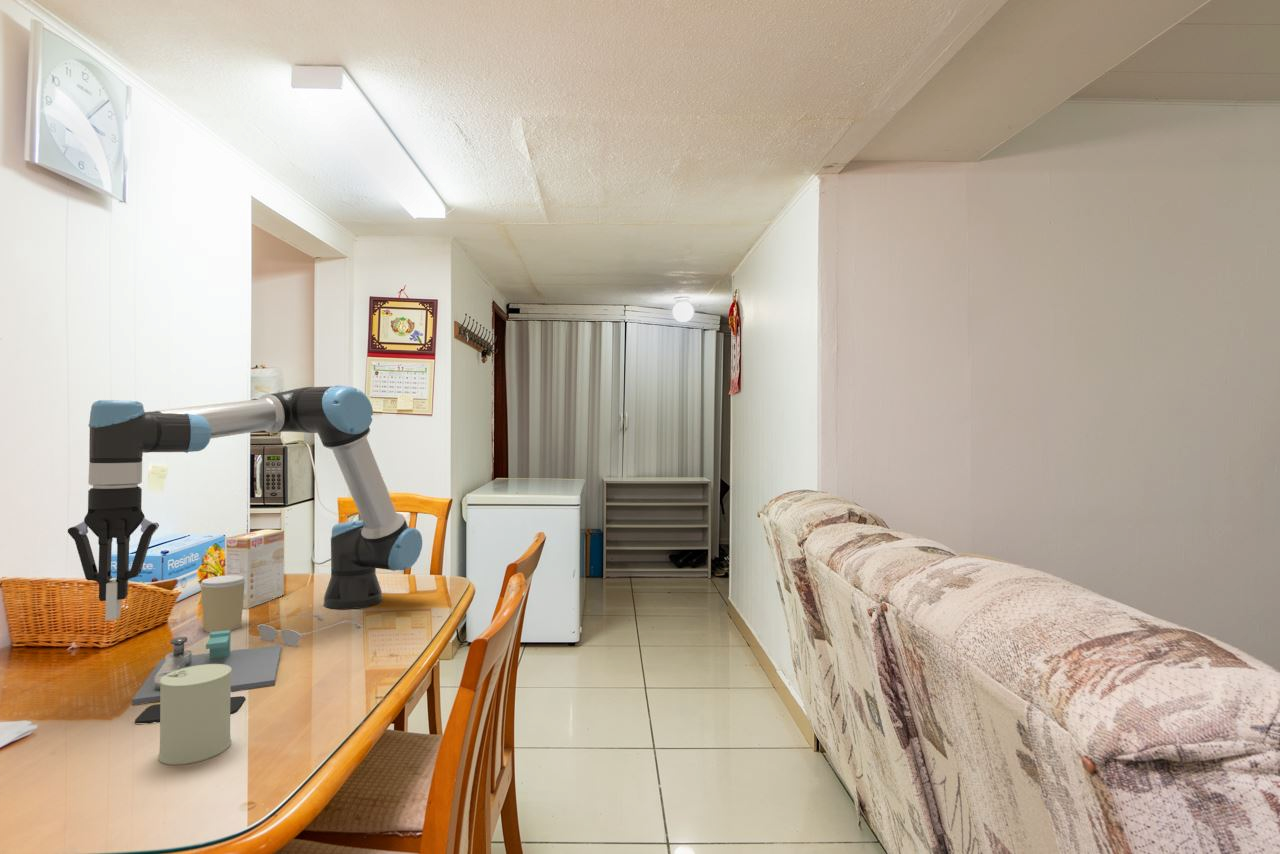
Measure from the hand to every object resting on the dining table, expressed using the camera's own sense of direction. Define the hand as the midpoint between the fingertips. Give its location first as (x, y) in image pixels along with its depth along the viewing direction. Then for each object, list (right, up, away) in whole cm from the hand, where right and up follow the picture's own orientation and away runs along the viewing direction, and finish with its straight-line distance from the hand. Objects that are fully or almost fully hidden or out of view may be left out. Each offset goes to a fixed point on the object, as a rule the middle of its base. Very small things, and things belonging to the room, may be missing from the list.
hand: (112, 618), depth 118 cm
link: (+4, -14, +10) cm, 17 cm away
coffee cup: (-8, -15, +44) cm, 48 cm away
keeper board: (+10, -15, +14) cm, 22 cm away
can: (+27, -15, -18) cm, 35 cm away
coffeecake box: (-15, -16, +69) cm, 72 cm away
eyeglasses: (+15, -16, +41) cm, 47 cm away
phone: (+17, -16, -4) cm, 23 cm away
